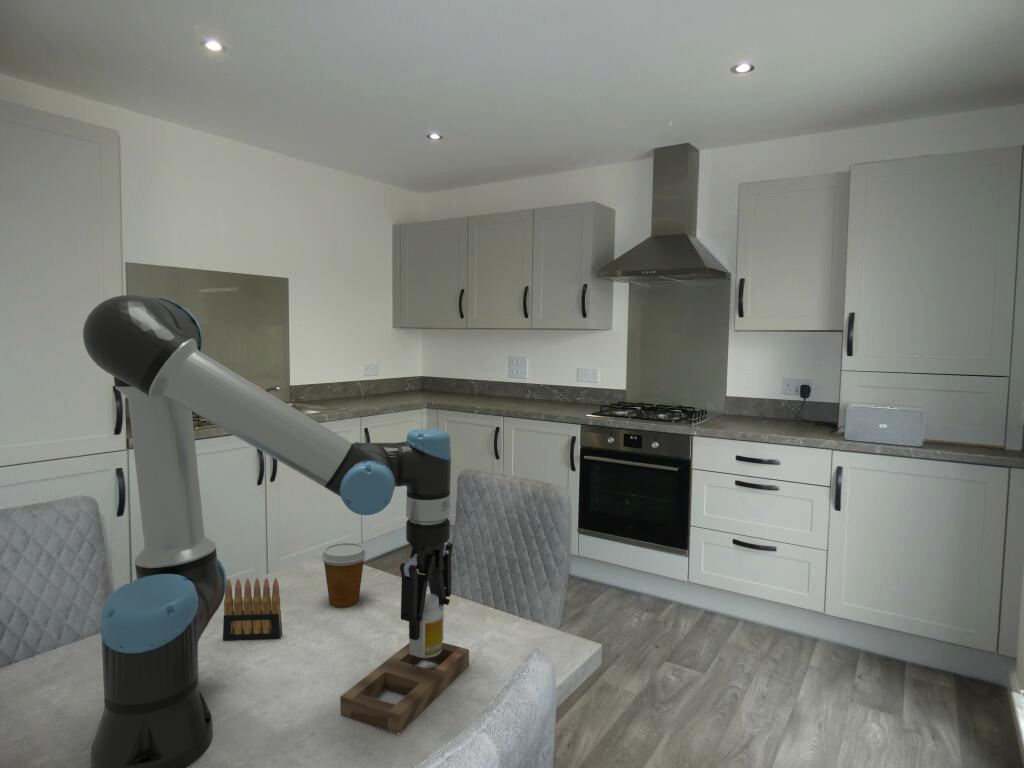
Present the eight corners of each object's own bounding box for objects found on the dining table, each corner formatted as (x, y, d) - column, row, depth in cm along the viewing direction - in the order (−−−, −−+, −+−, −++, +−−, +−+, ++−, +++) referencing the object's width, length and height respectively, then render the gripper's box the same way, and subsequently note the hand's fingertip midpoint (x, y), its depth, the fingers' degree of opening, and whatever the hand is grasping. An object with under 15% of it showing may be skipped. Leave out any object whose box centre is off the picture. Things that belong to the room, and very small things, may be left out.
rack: (398, 734, 94) (398, 714, 94) (340, 714, 99) (340, 695, 99) (468, 665, 114) (469, 648, 114) (417, 651, 119) (417, 635, 118)
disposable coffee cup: (375, 599, 141) (375, 547, 140) (342, 615, 133) (342, 560, 132) (345, 589, 146) (345, 539, 145) (312, 604, 138) (312, 550, 137)
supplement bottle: (446, 646, 113) (447, 594, 112) (435, 661, 108) (435, 606, 107) (418, 641, 114) (419, 590, 114) (406, 656, 109) (406, 602, 108)
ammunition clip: (282, 634, 124) (281, 575, 123) (280, 639, 122) (279, 579, 121) (225, 636, 123) (224, 577, 122) (222, 641, 121) (221, 580, 120)
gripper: (417, 537, 99) (415, 677, 101) (472, 508, 116) (470, 629, 118) (378, 530, 102) (377, 666, 104) (437, 503, 119) (435, 621, 121)
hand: (426, 646), depth 111 cm, fingers closed on supplement bottle, 5 cm apart
